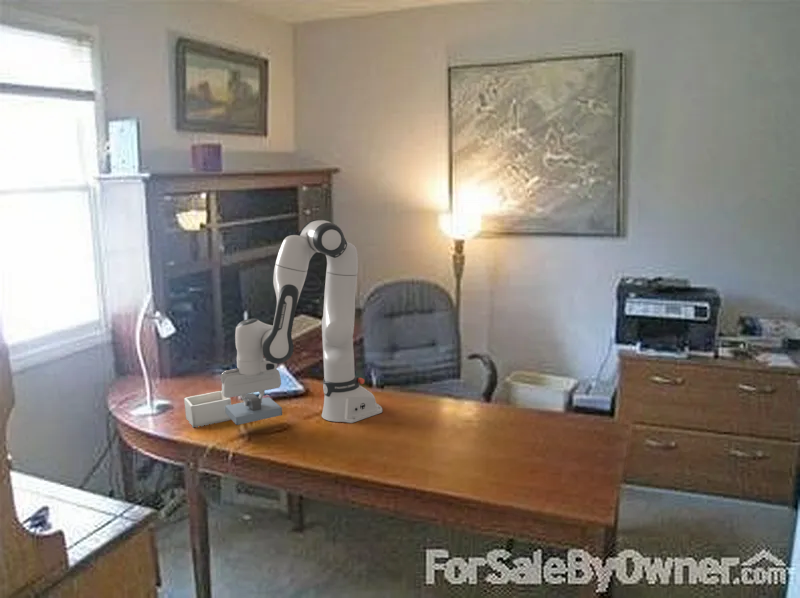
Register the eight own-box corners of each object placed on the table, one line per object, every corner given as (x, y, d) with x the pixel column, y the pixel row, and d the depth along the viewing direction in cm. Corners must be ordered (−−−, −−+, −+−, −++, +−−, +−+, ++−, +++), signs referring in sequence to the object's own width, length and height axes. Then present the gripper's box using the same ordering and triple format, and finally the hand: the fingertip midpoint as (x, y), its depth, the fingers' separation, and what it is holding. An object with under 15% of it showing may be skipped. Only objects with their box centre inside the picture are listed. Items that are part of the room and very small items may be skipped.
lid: (269, 404, 232) (268, 387, 231) (282, 415, 221) (281, 398, 220) (225, 413, 224) (224, 396, 223) (236, 425, 213) (235, 407, 212)
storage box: (223, 410, 242) (222, 390, 241) (232, 419, 233) (230, 398, 231) (185, 418, 235) (184, 397, 234) (193, 428, 226) (191, 406, 224)
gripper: (222, 373, 211) (225, 413, 214) (281, 363, 221) (283, 401, 224) (217, 369, 216) (220, 407, 219) (275, 359, 227) (277, 396, 229)
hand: (253, 404), depth 222 cm, fingers closed on lid, 3 cm apart
